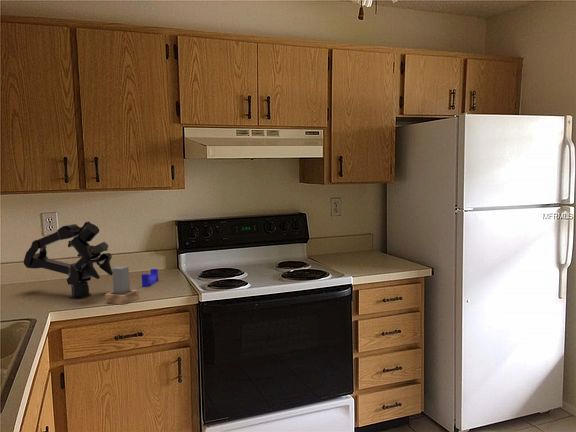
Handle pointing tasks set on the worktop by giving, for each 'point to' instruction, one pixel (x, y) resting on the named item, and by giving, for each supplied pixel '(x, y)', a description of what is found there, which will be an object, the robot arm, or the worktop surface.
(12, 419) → the worktop surface
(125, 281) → the plain gray rectangular block
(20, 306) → the worktop surface
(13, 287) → the worktop surface
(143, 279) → the cable clip
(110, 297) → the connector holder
